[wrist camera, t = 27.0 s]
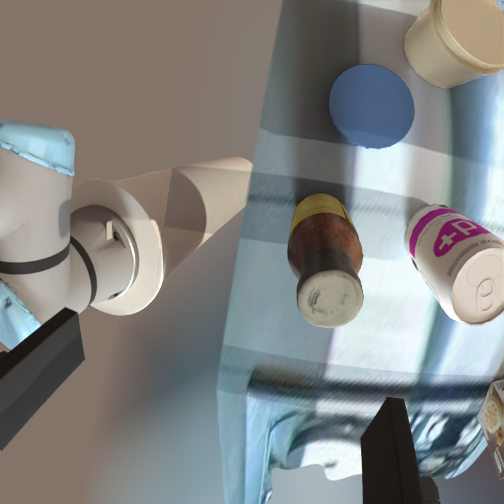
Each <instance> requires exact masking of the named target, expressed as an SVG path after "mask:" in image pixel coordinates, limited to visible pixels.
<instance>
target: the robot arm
mask: <svg viewBox="0 0 504 504" xmlns="http://www.w3.org/2000/svg"><path fill="white" fill-rule="evenodd" d="M74 152H75V141H74V138H73V136H72V135H71V134H70V132H68V131H67V130H65V129H62V128H58V127H53V126H49V125H43V124H37V123H31V122H23V121H16V120H6V119H0V341H1V342H2V343H3V344H4V345H5V346H7V347H8V348H10V349H11V351H10V352H8V353H7V352H5V351H3V352H0V450H1V451H2V450H3V449H4V448H5V447H6V446H7V444H8V443H9V442H10V441H11V440H12V439H13V438H14V436H15V435H16V434H17V433H18V432H19V431H20V429H21V428H22V427H23V426H24V425H25V424H26V423H27V422H28V421H29V419H30V418H31V417H32V416H33V415H34V414H35V413H36V412H37V410H38V409H39V408H40V407H41V406H42V405H43V404H44V403H45V402H46V401H47V399H48V398H49V397H50V396H51V395H52V394H53V393H54V392H55V391H56V390H57V389H58V387H59V386H60V385H61V384H62V383H63V382H64V381H65V380H66V379H67V378H68V377H69V376H70V375H71V373H72V372H73V371H74V370H75V369H76V368H77V367H78V366H79V365H80V364H81V363H82V362H83V361H84V360H85V357H84V351H83V345H82V339H81V333H80V326H79V317H78V314H79V313H81V312H82V311H83V310H84V309H85V308H87V307H88V306H89V305H90V304H94V303H98V302H103V301H106V300H111V299H114V298H117V297H119V296H121V295H122V294H124V293H125V292H126V291H127V290H128V289H129V288H131V286H132V285H133V284H134V282H135V280H136V278H137V275H138V271H139V252H138V247H137V244H136V241H135V238H134V236H133V234H132V232H131V230H130V228H129V227H128V225H127V224H126V223H125V221H124V220H123V219H122V218H121V217H120V216H119V215H118V214H117V213H115V212H114V211H113V210H111V209H109V208H107V207H104V206H101V205H88V206H85V207H82V208H79V209H77V210H75V211H74V212H72V213H71V194H72V182H73V176H74V175H75V171H74ZM360 439H361V457H362V484H363V504H440V502H439V493H438V488H437V486H436V484H435V482H434V481H433V479H432V477H420V476H419V470H418V464H417V459H416V453H415V448H414V443H413V438H412V433H411V428H410V424H409V419H408V415H407V410H406V406H405V402H404V399H400V398H392V397H387V398H386V400H385V401H384V403H383V405H382V406H381V408H380V409H379V411H378V412H377V414H376V416H375V417H374V419H373V420H372V422H371V423H370V425H369V426H368V428H367V429H366V431H365V432H364V433H363V435H362V436H361V438H360Z"/></svg>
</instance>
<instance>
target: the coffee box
mask: <svg viewBox="0 0 504 504" xmlns="http://www.w3.org/2000/svg"><path fill="white" fill-rule="evenodd" d="M477 417H478V420H479V422H480V425H481V428H482V430H483V433H484V435H485V438H486V441H487V443H488V446H489V449H490V452H491V455H492V457H493V461H494V464H495V467H496V469H497V473H498V476H499V479H500V480H502V479H504V379H502V380H498V381H494V382H492V383H491V385H490V387H489V390H488V392H487V395H486V397H485V400H484V402H483V404H482V407H481V409H480V411H479V413H478V416H477Z"/></svg>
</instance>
